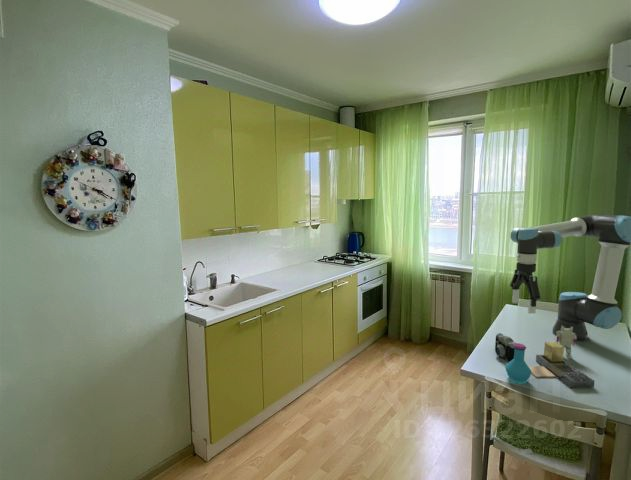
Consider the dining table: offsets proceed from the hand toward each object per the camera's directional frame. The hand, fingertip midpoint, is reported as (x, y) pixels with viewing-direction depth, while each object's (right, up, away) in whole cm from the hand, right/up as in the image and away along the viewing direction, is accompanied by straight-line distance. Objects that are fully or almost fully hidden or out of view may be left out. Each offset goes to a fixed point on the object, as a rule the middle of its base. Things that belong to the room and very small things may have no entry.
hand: (523, 307), depth 159 cm
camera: (-7, -24, +4) cm, 25 cm away
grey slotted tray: (+10, -26, -12) cm, 30 cm away
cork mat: (+1, -26, -11) cm, 28 cm away
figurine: (+21, -23, +3) cm, 31 cm away
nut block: (+10, -25, -5) cm, 27 cm away
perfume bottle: (-12, -27, -16) cm, 33 cm away
